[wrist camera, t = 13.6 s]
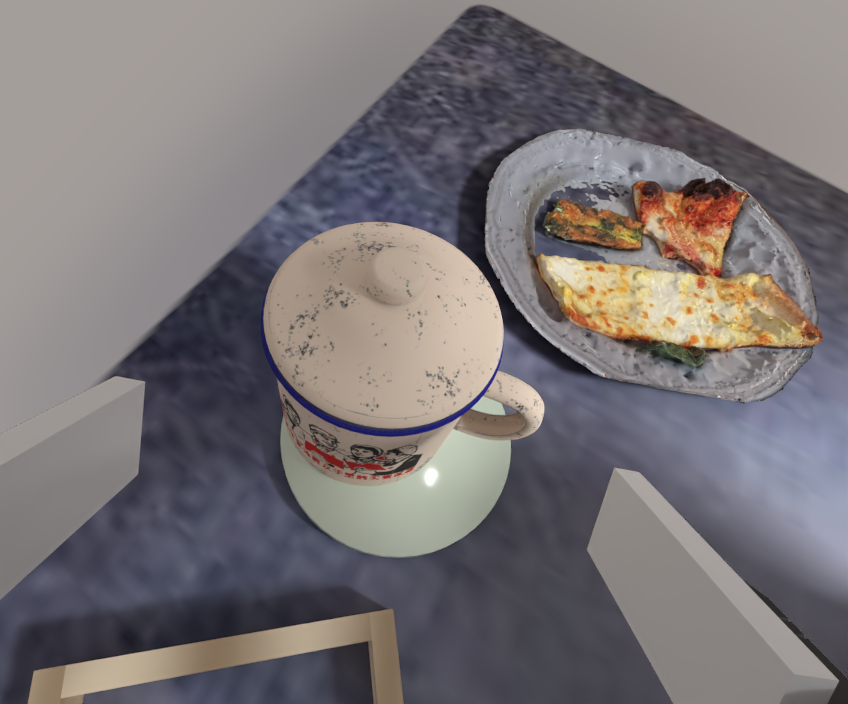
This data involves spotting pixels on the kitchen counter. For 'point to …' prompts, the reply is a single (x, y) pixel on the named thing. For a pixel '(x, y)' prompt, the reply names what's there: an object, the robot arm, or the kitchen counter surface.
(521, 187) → the food plate
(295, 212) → the kitchen counter surface
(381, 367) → the teacup with lid
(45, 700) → the wooden frame
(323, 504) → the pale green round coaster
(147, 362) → the kitchen counter surface
